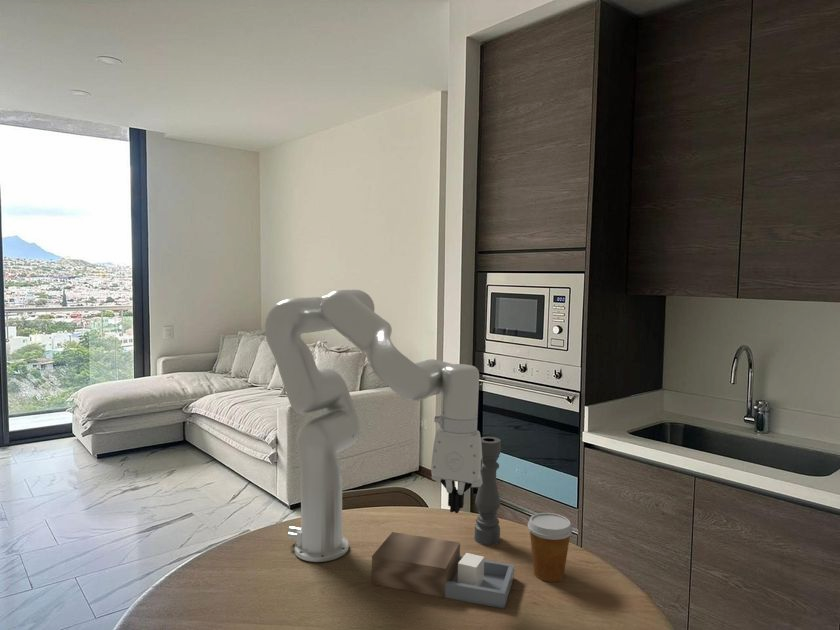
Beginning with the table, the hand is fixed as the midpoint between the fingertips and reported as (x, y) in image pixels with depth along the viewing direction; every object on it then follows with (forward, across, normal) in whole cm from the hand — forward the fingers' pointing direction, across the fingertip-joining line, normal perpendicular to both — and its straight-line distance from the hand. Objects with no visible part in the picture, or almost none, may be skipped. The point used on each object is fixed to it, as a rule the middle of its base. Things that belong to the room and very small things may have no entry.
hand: (455, 510), depth 119 cm
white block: (+13, +2, 0) cm, 13 cm away
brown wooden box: (+16, -8, 0) cm, 18 cm away
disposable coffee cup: (+15, +19, +10) cm, 26 cm away
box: (+16, +6, 0) cm, 17 cm away
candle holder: (+16, +3, +22) cm, 27 cm away
